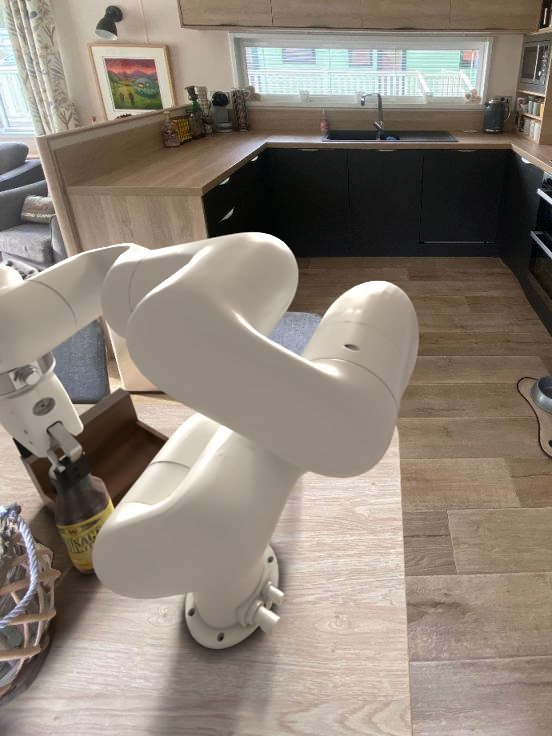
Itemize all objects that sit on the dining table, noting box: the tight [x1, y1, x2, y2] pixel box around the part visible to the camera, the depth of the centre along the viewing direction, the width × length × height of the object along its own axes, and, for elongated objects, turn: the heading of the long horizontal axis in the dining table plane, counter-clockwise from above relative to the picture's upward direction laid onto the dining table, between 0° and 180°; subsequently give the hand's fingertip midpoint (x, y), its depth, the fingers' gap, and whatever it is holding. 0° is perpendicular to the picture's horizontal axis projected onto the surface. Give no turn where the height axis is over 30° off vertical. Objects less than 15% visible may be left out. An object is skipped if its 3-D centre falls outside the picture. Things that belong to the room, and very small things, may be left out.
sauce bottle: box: [49, 456, 114, 575], centre depth 57 cm, size 6×6×20 cm
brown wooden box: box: [19, 387, 170, 514], centre depth 69 cm, size 12×16×12 cm
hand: (56, 464), depth 52 cm, fingers open, 9 cm apart
